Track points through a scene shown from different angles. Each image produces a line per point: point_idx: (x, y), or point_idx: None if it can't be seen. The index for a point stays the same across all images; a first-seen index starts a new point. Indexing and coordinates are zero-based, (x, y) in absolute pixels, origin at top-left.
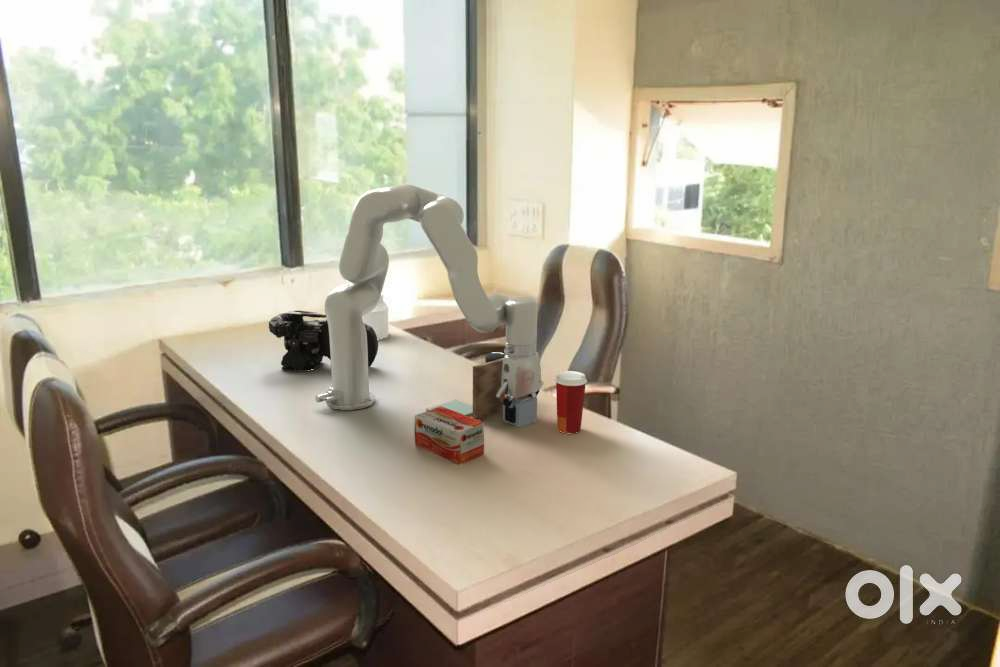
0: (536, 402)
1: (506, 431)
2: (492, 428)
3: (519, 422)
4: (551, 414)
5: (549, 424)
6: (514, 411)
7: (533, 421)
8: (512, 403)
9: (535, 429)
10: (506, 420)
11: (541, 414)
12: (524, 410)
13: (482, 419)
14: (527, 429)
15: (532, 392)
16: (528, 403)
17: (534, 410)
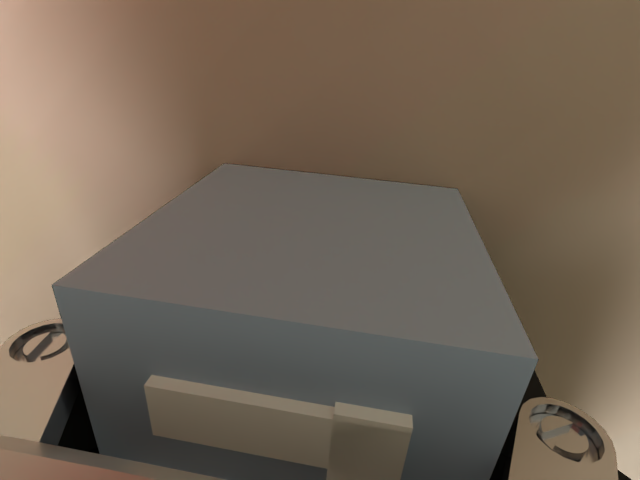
0: (110, 253)
1: (624, 226)
2: (618, 350)
3: (467, 211)
4: (16, 166)
5: (175, 9)
6: None
7: (262, 170)
8: (582, 476)
9: (390, 29)
10: None
11: (88, 227)
12: (395, 259)
13: None
14: (447, 99)
15: (41, 462)
16: (291, 299)
17: (206, 210)
